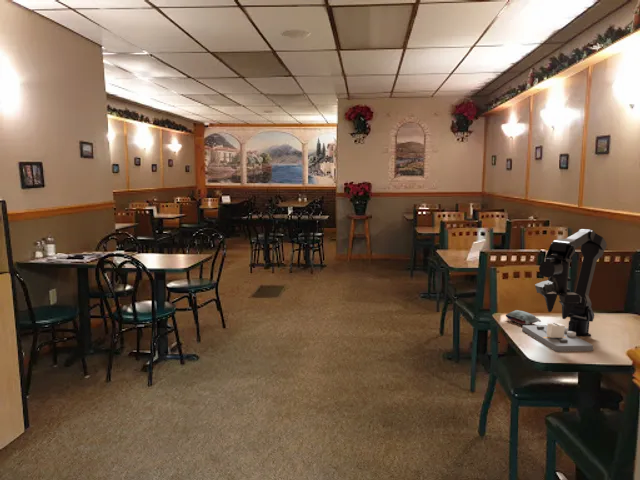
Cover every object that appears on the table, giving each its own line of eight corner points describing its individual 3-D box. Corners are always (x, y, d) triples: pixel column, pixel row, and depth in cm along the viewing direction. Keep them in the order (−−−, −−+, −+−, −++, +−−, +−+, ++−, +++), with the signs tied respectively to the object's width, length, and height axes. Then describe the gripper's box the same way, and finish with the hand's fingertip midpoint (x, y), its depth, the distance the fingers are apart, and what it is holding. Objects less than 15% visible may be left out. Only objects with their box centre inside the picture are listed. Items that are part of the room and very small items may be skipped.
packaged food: (519, 318, 213) (519, 307, 212) (541, 325, 202) (541, 314, 201) (504, 320, 209) (505, 309, 208) (525, 328, 198) (526, 316, 198)
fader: (546, 334, 181) (547, 323, 181) (559, 334, 182) (560, 322, 181) (551, 337, 178) (552, 325, 178) (564, 337, 179) (565, 325, 178)
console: (522, 330, 195) (522, 321, 194) (554, 329, 196) (555, 321, 195) (555, 351, 171) (556, 341, 170) (592, 350, 172) (593, 341, 172)
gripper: (526, 269, 185) (523, 308, 187) (553, 279, 167) (550, 322, 169) (553, 269, 186) (550, 308, 188) (584, 279, 168) (580, 322, 170)
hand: (556, 315), depth 179 cm, fingers open, 9 cm apart
